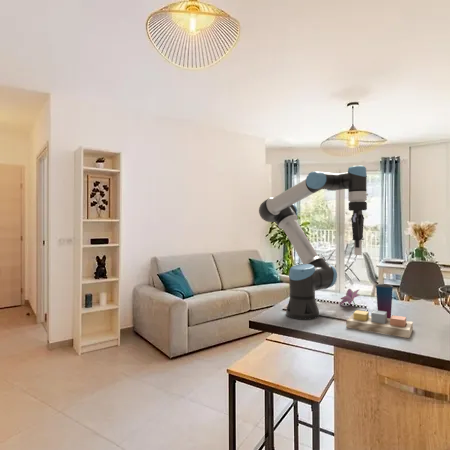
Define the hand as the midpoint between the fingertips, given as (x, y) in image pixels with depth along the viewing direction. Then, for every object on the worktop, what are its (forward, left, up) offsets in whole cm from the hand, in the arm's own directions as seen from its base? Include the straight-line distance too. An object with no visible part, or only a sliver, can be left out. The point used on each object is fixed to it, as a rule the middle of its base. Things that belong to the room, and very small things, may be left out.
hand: (358, 254), depth 145 cm
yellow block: (+3, -7, -28) cm, 29 cm away
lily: (-9, +22, -29) cm, 38 cm away
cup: (+9, +8, -29) cm, 32 cm away
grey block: (+10, -7, -27) cm, 29 cm away
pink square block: (+17, -7, -28) cm, 33 cm away
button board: (+10, -7, -29) cm, 31 cm away
